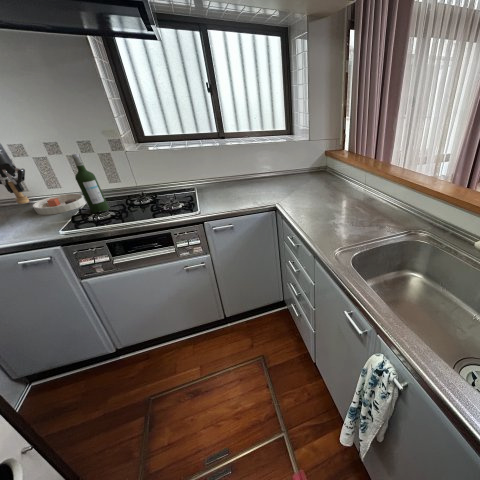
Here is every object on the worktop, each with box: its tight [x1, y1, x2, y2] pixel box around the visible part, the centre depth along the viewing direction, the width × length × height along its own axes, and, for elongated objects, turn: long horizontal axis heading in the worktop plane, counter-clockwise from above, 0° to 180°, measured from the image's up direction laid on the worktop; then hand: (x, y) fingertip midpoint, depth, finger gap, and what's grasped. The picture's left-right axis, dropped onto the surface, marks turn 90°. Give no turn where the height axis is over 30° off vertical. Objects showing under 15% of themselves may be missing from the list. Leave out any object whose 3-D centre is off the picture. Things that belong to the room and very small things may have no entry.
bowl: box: [32, 193, 87, 216], centre depth 148 cm, size 21×21×4 cm
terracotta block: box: [47, 198, 61, 207], centre depth 149 cm, size 4×4×4 cm
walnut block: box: [65, 199, 76, 204], centre depth 148 cm, size 4×4×4 cm
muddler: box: [7, 180, 30, 205], centre depth 120 cm, size 4×4×10 cm
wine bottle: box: [71, 153, 110, 214], centre depth 138 cm, size 8×8×30 cm
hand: (17, 191), depth 120 cm, fingers closed on muddler, 2 cm apart
